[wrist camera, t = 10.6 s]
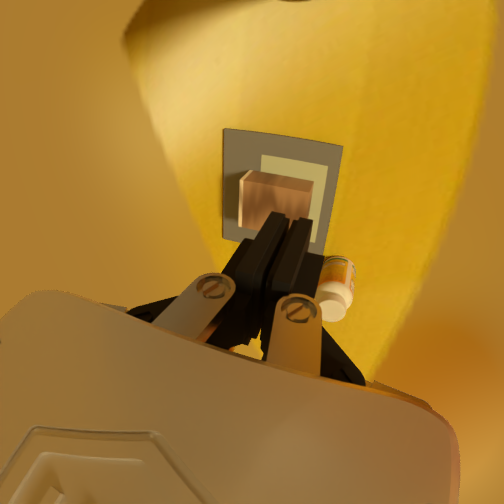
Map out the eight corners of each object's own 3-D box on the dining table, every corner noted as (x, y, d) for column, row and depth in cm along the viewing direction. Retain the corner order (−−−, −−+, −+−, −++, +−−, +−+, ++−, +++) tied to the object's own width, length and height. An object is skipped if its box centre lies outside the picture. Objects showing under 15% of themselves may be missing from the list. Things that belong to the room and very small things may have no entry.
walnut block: (239, 179, 39) (309, 192, 37) (249, 169, 42) (314, 181, 40) (238, 226, 43) (301, 240, 41) (247, 213, 46) (307, 226, 44)
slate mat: (225, 128, 40) (224, 129, 40) (343, 146, 37) (342, 146, 36) (224, 237, 51) (223, 238, 50) (321, 259, 47) (321, 261, 47)
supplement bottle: (362, 270, 46) (359, 313, 38) (339, 288, 49) (331, 331, 42) (338, 248, 45) (330, 289, 38) (315, 268, 48) (303, 309, 41)
